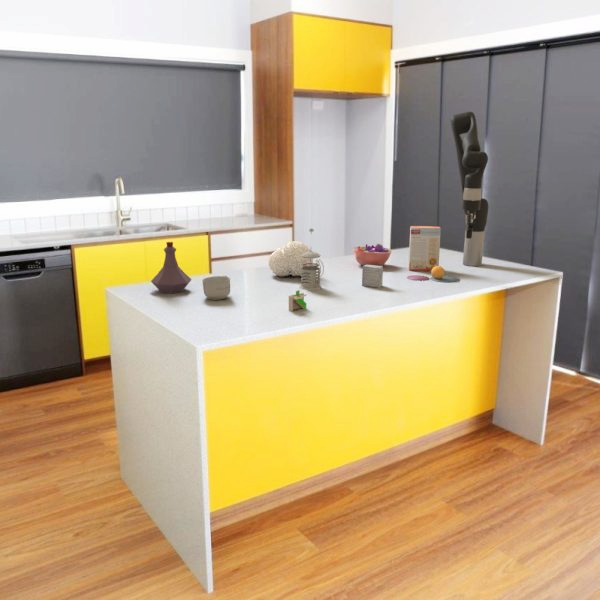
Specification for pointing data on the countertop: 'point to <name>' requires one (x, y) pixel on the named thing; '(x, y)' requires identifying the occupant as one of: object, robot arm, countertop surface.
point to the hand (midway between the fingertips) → (468, 238)
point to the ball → (437, 272)
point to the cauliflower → (289, 259)
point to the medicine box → (372, 276)
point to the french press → (311, 272)
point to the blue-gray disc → (446, 279)
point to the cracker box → (424, 248)
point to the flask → (170, 273)
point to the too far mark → (418, 277)
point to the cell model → (372, 255)
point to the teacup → (216, 287)
